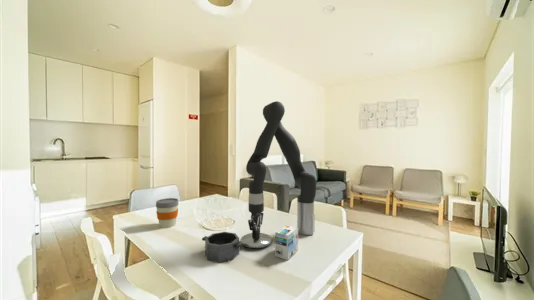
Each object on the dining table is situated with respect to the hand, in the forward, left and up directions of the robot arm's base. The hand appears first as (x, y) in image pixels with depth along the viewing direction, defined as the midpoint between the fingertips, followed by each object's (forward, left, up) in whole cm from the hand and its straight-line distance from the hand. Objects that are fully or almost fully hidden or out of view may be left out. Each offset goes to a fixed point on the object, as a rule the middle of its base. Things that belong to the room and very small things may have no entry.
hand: (256, 235), depth 111 cm
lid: (0, 0, -4) cm, 4 cm away
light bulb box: (-17, +4, -4) cm, 18 cm away
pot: (+10, +15, -4) cm, 18 cm away
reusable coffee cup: (+60, -3, -4) cm, 60 cm away
